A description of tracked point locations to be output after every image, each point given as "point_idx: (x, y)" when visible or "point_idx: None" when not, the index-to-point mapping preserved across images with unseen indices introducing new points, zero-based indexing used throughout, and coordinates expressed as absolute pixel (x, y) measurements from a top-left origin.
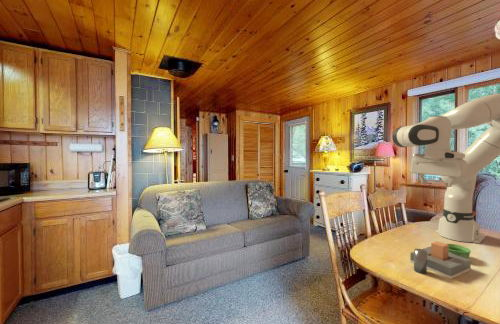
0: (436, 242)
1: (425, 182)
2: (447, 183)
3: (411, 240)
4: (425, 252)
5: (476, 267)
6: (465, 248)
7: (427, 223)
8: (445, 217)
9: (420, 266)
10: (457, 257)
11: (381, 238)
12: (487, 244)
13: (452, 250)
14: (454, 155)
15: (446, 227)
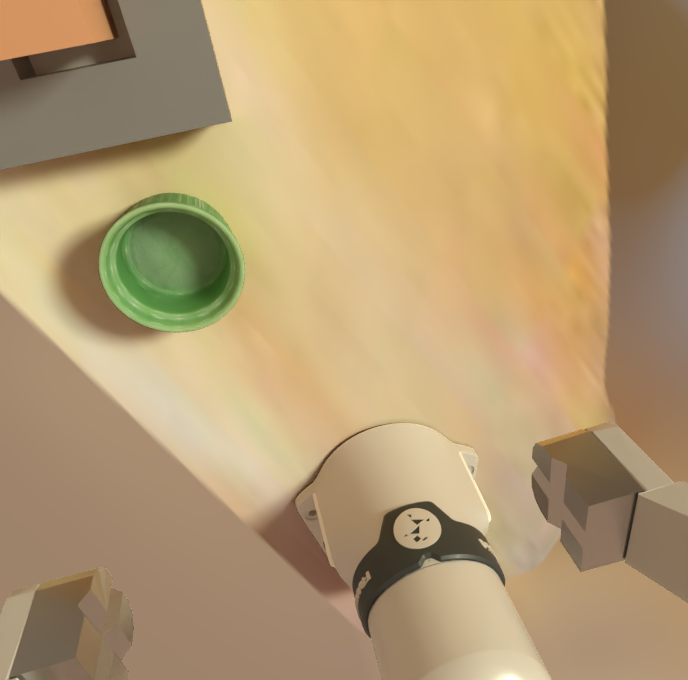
0: (63, 3)
1: (559, 497)
2: (30, 658)
3: (444, 217)
4: None
5: (40, 230)
6: (168, 323)
7: None
8: (448, 516)
9: None
10: (25, 123)
11: (555, 31)
12: (278, 519)
13: (140, 207)
14: None
15: (417, 470)
